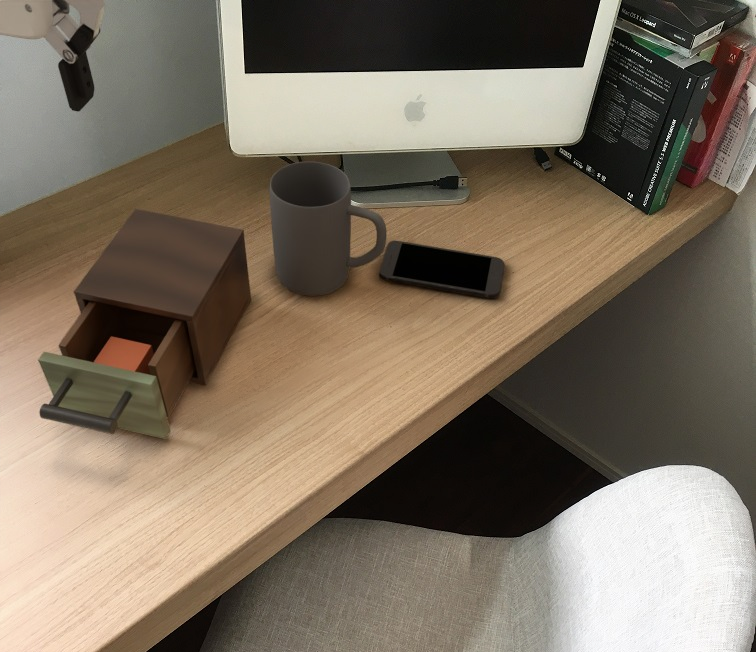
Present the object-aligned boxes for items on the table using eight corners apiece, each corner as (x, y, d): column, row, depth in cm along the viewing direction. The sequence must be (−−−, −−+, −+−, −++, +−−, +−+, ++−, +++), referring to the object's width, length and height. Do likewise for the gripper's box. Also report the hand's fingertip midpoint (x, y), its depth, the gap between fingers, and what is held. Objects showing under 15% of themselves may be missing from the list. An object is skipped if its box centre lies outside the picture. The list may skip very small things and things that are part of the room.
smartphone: (498, 300, 94) (500, 294, 94) (376, 280, 96) (377, 274, 95) (505, 263, 99) (506, 257, 98) (388, 244, 100) (388, 238, 99)
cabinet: (205, 385, 84) (192, 316, 77) (97, 361, 86) (73, 291, 78) (251, 299, 93) (243, 229, 85) (151, 279, 94) (135, 208, 86)
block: (101, 396, 80) (90, 365, 77) (120, 367, 83) (111, 335, 79) (141, 406, 80) (132, 375, 76) (159, 376, 82) (151, 345, 79)
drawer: (145, 476, 76) (128, 423, 69) (37, 451, 77) (10, 396, 71) (215, 349, 86) (205, 292, 80) (118, 328, 88) (101, 271, 81)
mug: (263, 287, 94) (255, 197, 84) (291, 243, 99) (286, 153, 89) (371, 314, 92) (375, 225, 82) (394, 267, 97) (400, 179, 88)
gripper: (-197, -158, 52) (-85, 98, 66) (41, -123, 51) (104, 133, 64) (-128, -189, 57) (-37, 58, 71) (93, -157, 55) (142, 90, 69)
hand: (30, 93), depth 68 cm, fingers open, 9 cm apart
